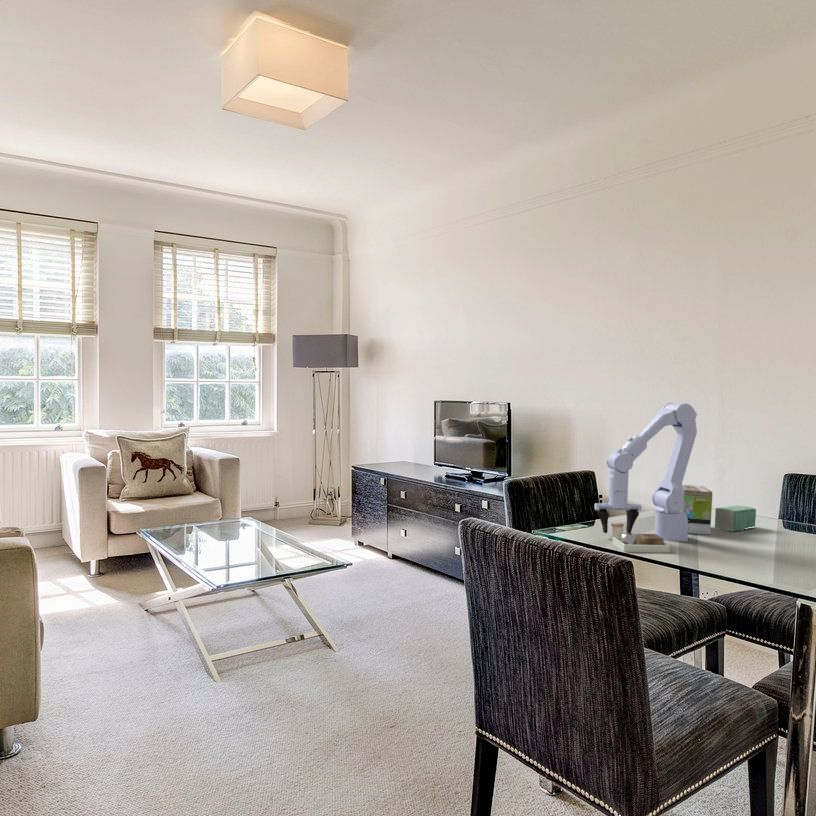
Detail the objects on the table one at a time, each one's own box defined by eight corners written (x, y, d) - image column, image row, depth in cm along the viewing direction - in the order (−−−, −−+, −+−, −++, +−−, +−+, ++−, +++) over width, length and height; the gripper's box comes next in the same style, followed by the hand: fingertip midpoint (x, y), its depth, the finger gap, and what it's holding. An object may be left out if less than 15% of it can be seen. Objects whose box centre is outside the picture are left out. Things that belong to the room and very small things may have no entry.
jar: (620, 538, 219) (621, 522, 219) (624, 540, 215) (625, 525, 215) (609, 538, 219) (609, 522, 219) (612, 540, 215) (613, 525, 215)
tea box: (711, 535, 227) (713, 491, 226) (679, 533, 229) (681, 489, 228) (701, 525, 242) (703, 484, 241) (671, 524, 244) (673, 483, 243)
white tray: (655, 545, 211) (656, 537, 211) (669, 553, 200) (669, 545, 200) (612, 544, 210) (612, 537, 210) (623, 552, 200) (624, 545, 200)
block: (655, 545, 208) (655, 534, 208) (663, 550, 202) (663, 538, 202) (635, 545, 208) (636, 533, 208) (643, 550, 202) (643, 538, 202)
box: (756, 528, 239) (756, 507, 239) (733, 532, 232) (734, 511, 232) (736, 524, 245) (737, 504, 245) (714, 528, 238) (714, 507, 238)
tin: (633, 545, 207) (633, 533, 207) (638, 549, 203) (638, 536, 203) (618, 545, 207) (619, 532, 207) (623, 549, 203) (624, 536, 203)
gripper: (636, 488, 221) (634, 530, 221) (592, 488, 220) (590, 529, 221) (644, 492, 214) (642, 535, 214) (599, 491, 213) (597, 534, 214)
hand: (616, 532), depth 217 cm, fingers open, 7 cm apart
